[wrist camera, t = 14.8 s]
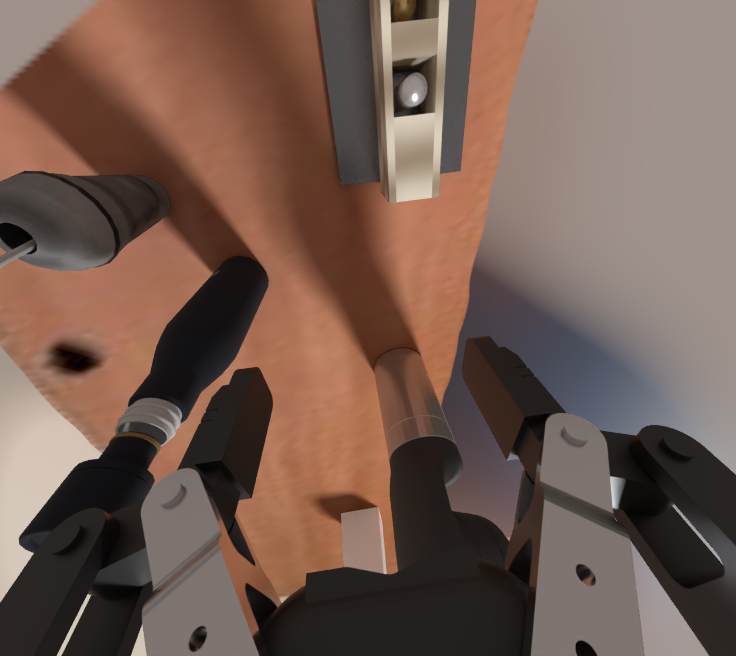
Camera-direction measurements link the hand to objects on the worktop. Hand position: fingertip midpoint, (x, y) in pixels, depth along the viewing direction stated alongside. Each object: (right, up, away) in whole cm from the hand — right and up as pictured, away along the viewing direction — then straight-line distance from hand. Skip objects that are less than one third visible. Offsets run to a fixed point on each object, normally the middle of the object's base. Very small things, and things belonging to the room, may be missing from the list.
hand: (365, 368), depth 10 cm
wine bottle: (-17, +9, +27) cm, 33 cm away
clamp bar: (+3, +25, +16) cm, 30 cm away
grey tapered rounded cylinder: (-25, +17, +20) cm, 36 cm away
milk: (-2, -61, +78) cm, 99 cm away
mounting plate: (+3, +25, +17) cm, 31 cm away
